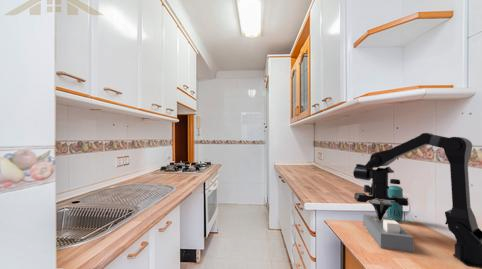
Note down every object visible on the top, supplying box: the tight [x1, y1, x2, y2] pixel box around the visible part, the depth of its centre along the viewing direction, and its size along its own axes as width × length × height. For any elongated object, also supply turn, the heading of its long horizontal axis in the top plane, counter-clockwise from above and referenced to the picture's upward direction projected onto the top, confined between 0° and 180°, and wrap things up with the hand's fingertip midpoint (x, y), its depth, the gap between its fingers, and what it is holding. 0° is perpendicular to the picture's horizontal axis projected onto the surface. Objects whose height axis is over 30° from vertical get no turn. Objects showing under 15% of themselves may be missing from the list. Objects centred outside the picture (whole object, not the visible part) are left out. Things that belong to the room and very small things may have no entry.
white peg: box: [383, 219, 401, 233], centre depth 83 cm, size 4×4×5 cm
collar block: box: [362, 214, 415, 253], centre depth 88 cm, size 10×22×5 cm, turn 166°
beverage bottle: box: [386, 178, 404, 221], centre depth 108 cm, size 6×7×20 cm
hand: (379, 219), depth 94 cm, fingers closed, pressing on birch peg
